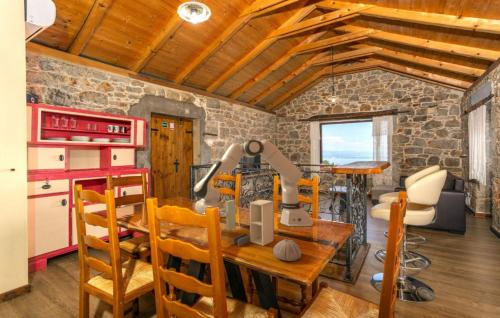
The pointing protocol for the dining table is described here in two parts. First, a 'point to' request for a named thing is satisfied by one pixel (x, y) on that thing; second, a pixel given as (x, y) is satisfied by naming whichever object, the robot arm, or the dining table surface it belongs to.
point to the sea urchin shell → (287, 250)
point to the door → (230, 215)
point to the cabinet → (259, 224)
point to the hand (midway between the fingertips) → (231, 213)
